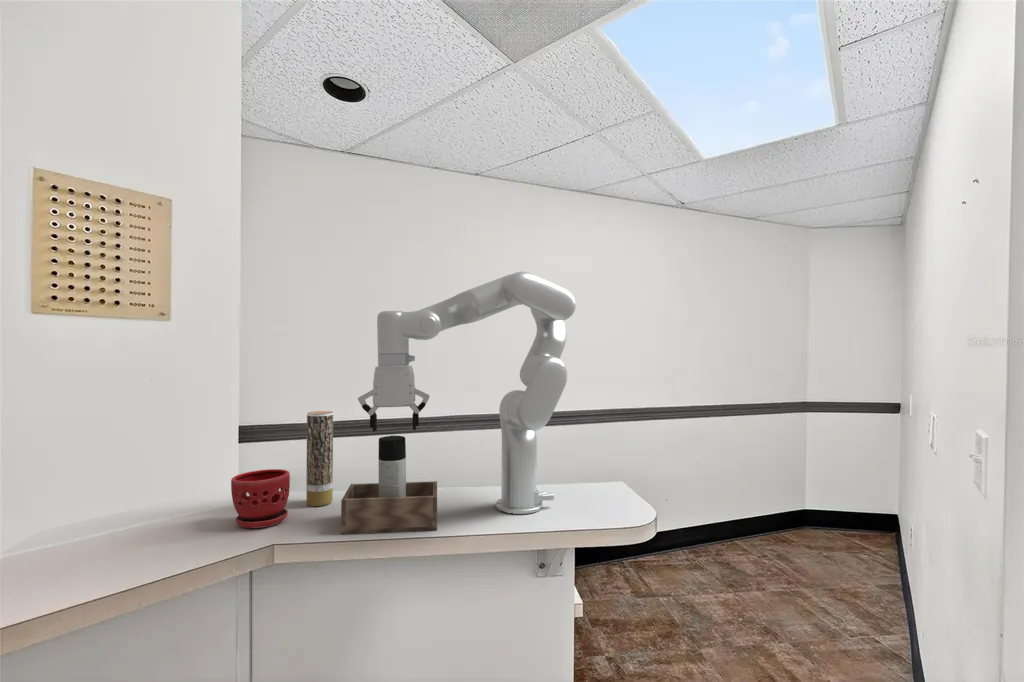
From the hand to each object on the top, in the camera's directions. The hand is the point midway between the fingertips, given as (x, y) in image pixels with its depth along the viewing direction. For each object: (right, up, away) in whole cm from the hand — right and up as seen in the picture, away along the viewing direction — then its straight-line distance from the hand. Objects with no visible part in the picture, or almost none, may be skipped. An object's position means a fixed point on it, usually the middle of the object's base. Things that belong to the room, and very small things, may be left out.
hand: (394, 429), depth 132 cm
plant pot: (-33, -23, -1) cm, 40 cm away
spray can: (-1, -22, 0) cm, 22 cm away
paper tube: (-24, -23, +15) cm, 36 cm away
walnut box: (-1, -23, 0) cm, 23 cm away
